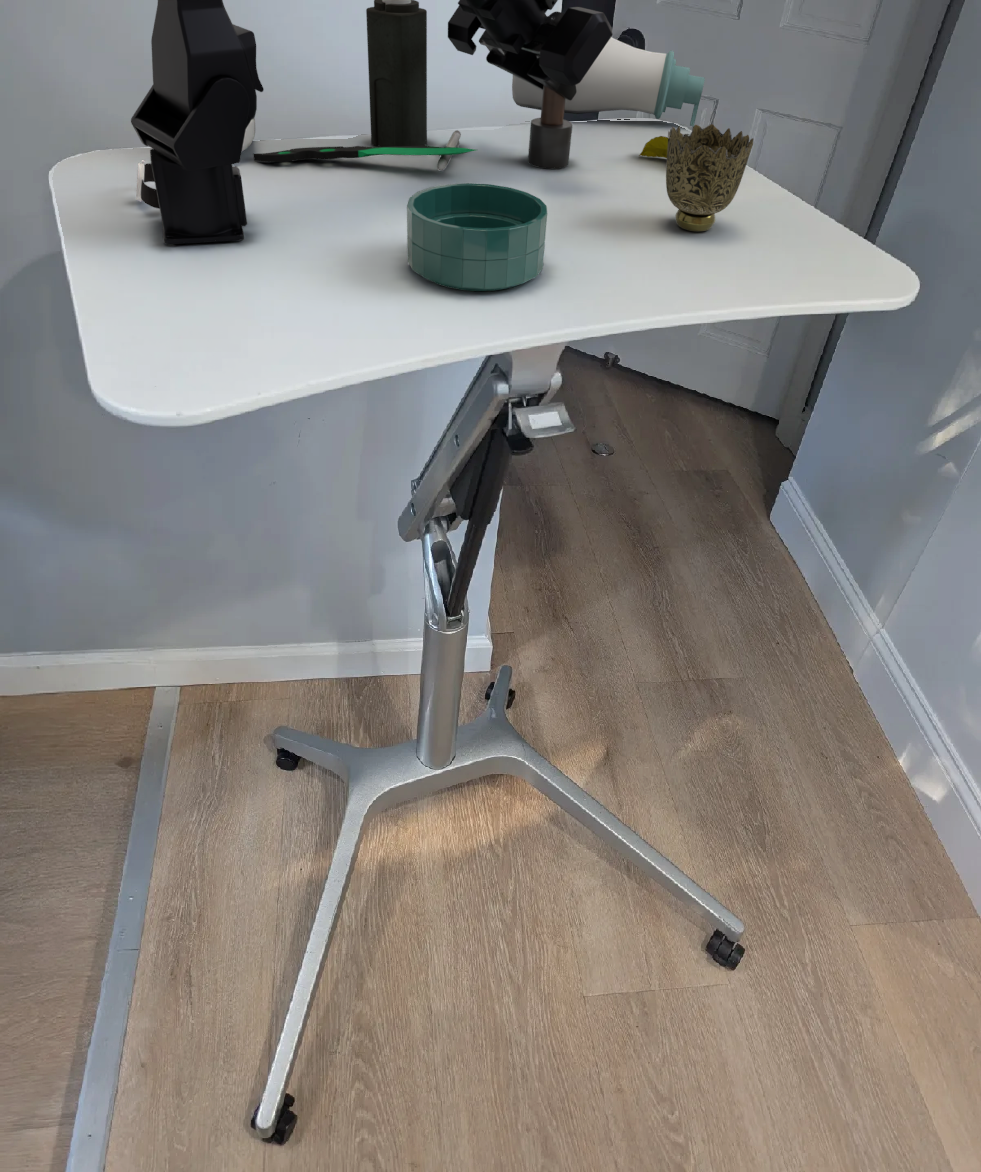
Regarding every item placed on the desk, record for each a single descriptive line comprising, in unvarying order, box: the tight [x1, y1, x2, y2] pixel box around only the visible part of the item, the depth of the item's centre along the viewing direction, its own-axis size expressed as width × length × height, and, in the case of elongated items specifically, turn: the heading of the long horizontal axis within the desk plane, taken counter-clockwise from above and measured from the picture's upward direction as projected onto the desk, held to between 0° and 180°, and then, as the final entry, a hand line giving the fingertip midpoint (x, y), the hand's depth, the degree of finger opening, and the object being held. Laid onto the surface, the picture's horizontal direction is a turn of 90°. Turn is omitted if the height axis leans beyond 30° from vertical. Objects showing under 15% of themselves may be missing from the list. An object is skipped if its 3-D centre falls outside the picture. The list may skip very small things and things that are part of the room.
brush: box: [527, 85, 573, 170], centre depth 93 cm, size 4×4×12 cm
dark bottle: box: [365, 0, 428, 147], centre depth 92 cm, size 5×5×25 cm
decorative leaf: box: [638, 135, 669, 159], centre depth 98 cm, size 10×2×3 cm, turn 40°
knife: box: [252, 144, 477, 163], centre depth 92 cm, size 23×1×5 cm
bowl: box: [406, 182, 548, 292], centre depth 72 cm, size 11×11×5 cm
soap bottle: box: [511, 36, 706, 128], centre depth 110 cm, size 10×10×23 cm
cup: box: [665, 123, 755, 233], centre depth 81 cm, size 8×7×8 cm
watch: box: [135, 159, 160, 210], centre depth 81 cm, size 8×5×4 cm, turn 16°
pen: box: [436, 129, 462, 172], centre depth 95 cm, size 1×14×1 cm, turn 174°
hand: (564, 93), depth 94 cm, fingers closed on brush, 2 cm apart
